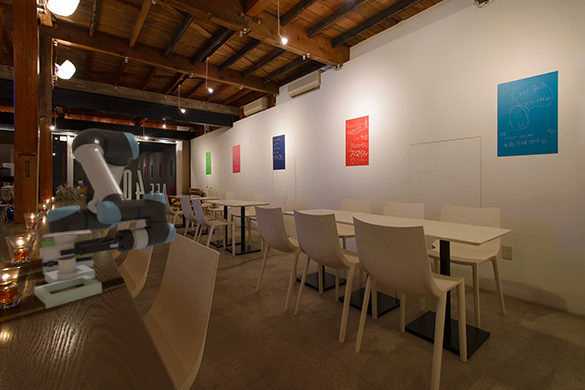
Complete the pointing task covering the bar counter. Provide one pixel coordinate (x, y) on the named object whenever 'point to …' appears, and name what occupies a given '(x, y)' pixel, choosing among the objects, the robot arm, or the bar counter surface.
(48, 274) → the white square dish
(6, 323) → the bar counter surface
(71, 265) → the fuse
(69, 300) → the parts tray
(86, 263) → the tea box
